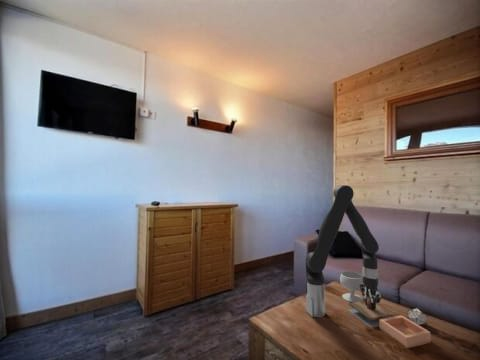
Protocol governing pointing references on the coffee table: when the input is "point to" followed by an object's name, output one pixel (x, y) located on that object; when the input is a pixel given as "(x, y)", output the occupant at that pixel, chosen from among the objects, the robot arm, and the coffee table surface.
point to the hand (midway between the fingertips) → (370, 307)
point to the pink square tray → (405, 331)
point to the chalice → (351, 285)
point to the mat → (369, 322)
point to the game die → (417, 316)
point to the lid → (371, 310)
